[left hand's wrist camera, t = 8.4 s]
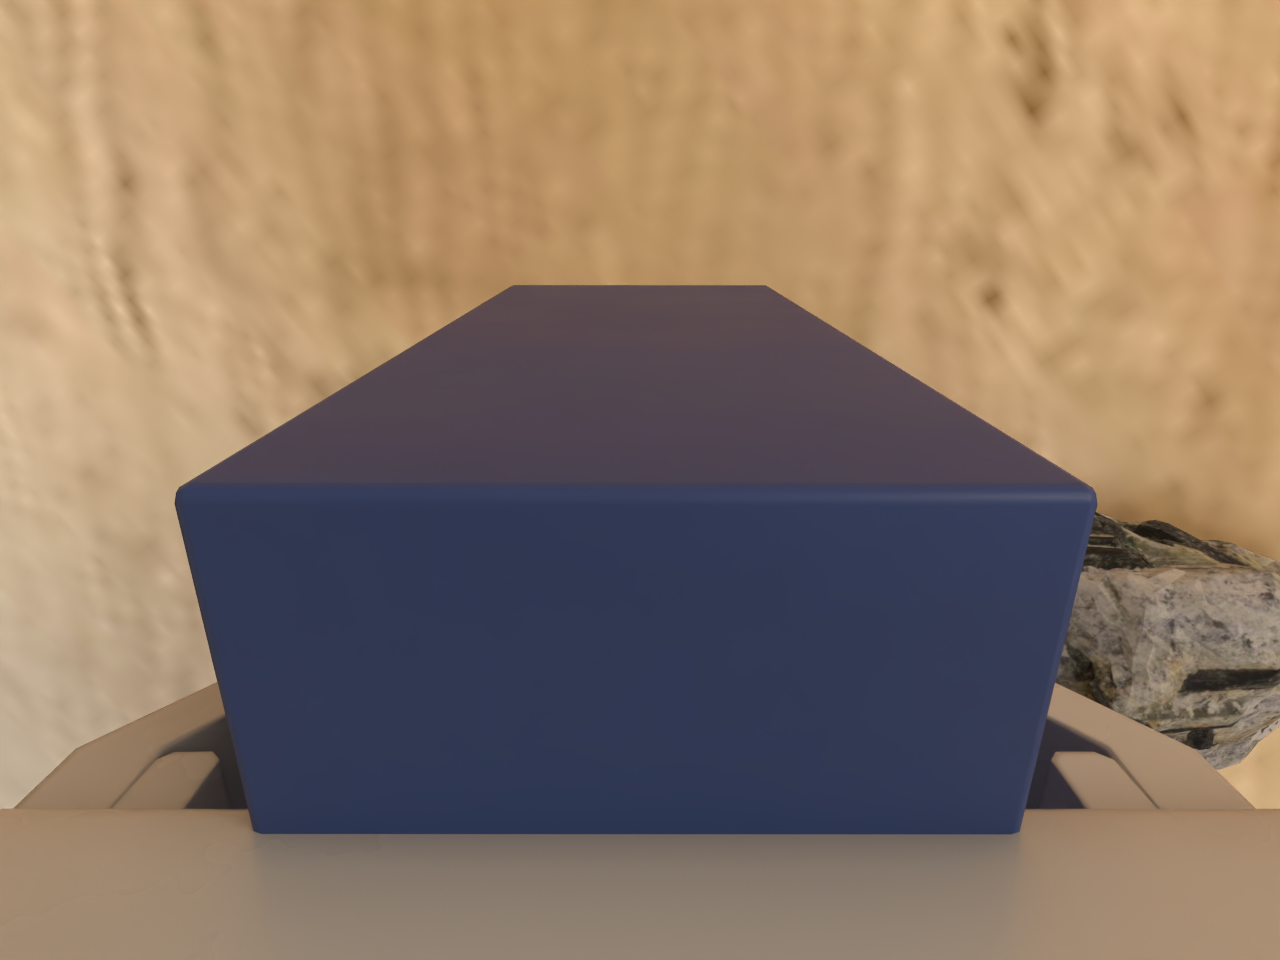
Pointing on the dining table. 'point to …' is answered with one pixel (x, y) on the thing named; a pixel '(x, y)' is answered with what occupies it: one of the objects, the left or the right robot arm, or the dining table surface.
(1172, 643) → the rock
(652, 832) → the brick
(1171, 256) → the dining table surface
